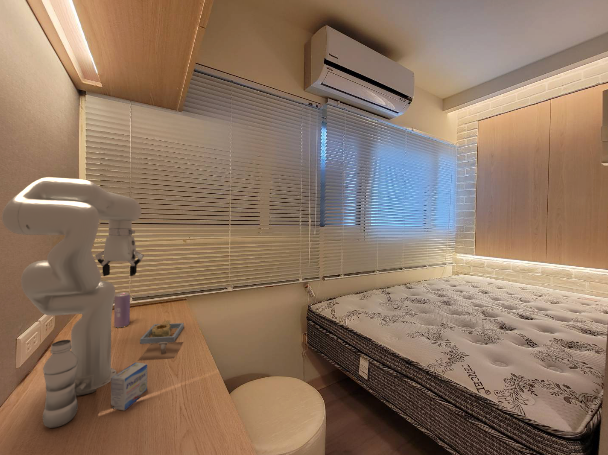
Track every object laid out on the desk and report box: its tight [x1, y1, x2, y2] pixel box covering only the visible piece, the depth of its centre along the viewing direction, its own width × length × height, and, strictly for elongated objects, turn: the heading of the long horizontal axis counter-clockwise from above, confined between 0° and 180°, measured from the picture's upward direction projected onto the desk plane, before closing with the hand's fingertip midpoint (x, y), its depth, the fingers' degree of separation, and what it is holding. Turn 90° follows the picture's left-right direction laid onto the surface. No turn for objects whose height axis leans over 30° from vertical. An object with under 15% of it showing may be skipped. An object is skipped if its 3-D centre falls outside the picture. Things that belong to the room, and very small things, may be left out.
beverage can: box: [113, 292, 131, 329], centre depth 122 cm, size 6×6×15 cm
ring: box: [151, 319, 172, 337], centre depth 111 cm, size 10×6×4 cm, turn 11°
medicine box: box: [110, 362, 148, 411], centre depth 73 cm, size 8×4×9 cm, turn 168°
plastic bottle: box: [42, 339, 79, 429], centre depth 64 cm, size 6×7×20 cm
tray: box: [139, 322, 185, 345], centre depth 111 cm, size 15×13×3 cm
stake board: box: [137, 341, 184, 361], centre depth 98 cm, size 13×12×5 cm
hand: (119, 275), depth 104 cm, fingers open, 9 cm apart
